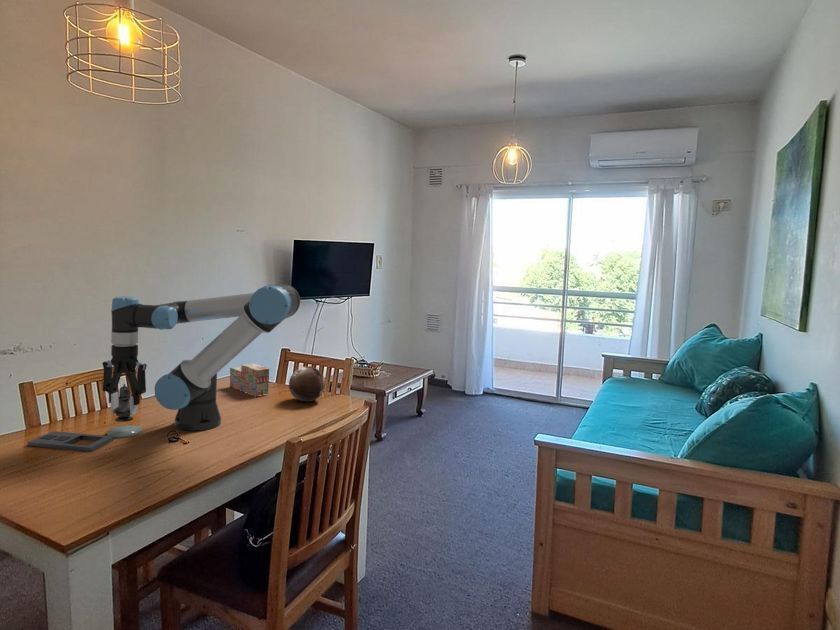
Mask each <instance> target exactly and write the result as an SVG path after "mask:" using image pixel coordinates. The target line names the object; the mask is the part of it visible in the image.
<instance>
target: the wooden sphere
mask: <svg viewBox="0 0 840 630" xmlns="http://www.w3.org/2000/svg"><path fill="white" fill-rule="evenodd" d="M325 387H326V380H325V377H324V375H323V373H322V372H321V371H320V370H319V369H317V368H315V367H314V366H301V367H299V368H298V369H296V370H295V371H294V372H293V373H292V374H291V375H290V378H289V382H288V388H289V392H290V393H291V395H292V396H293V397H294V399H296V400H297V401H300V400H301V401H300V402H303V401H310V402H312V401H311V400H314V401H315V399H316V400H317V399H319V398H320V397H321V396H322V394H323V393H324V391H325Z"/></svg>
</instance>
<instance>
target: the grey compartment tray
mask: <svg viewBox="0 0 840 630" xmlns="http://www.w3.org/2000/svg"><path fill="white" fill-rule="evenodd" d="M79 440H89V441H90V440H91V441H94V442H92V443H90V444H88V445H84V444H73V443H76V442H77V441H79ZM113 441H114V438H113V437H112V436H107V435H100V434H86V433H78V432H67V431H56V430H55V431H54V430H52V431H51V432H48V433H46V434H43V435H41V436H39V437H36V438H34V439H32V440H29V441H27V447H34V446H36V447H37V448H45V449H55V450H56V449H58V450H69V451H78V452H91V453H92V452H94V451H96V450H97V449H100V448H101V447H103V446H105V445H107V444H109V443H111V442H113ZM36 447H35V448H36Z"/></svg>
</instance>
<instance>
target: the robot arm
mask: <svg viewBox="0 0 840 630" xmlns="http://www.w3.org/2000/svg"><path fill="white" fill-rule="evenodd" d="M300 304H301V297H300V294H299V292H298V291H297V290H296V289H295V287H293V286H291V285H290V284H286V283H277V284H266V285H264V286H262V287H260V288H258V289H257V290H255V292H249V293H242V294H233V295H226V296H217V297H207V298H198V299H191V300H190V299H189V300H184V301H183V300H181V301H173V302H169V303H167V302H166V303H159V304H142V303H140V301H139V298H138V297H135V296H115V297H114V298H112V302H111V332H110V333H111V339H110V340H111V341H110V342H111V344H112V345H111V347H110V348H111V352H110V355H111V359H110V360H109V359H108V360H105V361H103V362H102V367H103V379H102V391H103V392H107V394H108V403H109V404H110V414H111V415H114V414H115V411H114V409H115V408H117V407H118V406H119V399H118V397H119V389H118V387H119V384H120V380H121V377H122V374H125V376H126V377H127V378H128V382H129V386H130V387H129V388H130V390H131V393H132V394H131V395H129V396H130V416H131V417H132V416H135V415H137V414H138V405H139V404H140V403H141V401H140V400H141V395H143V394H145V393H147V384H146V369H147V363H143V362H140V361H139V359H138V355H139V345H138V343H139V328H142V329H143V328H145V329H156V330H157V329H158V330H162V331H163V330H173V329H174V328H175V326H176V325H178V324H187V323H193V322H202V321H211V320H219V319H229V318H236V319H234V321H232V322H231V324H229V325H228V326H227V327H226V328H225V329H224V330H223V331H222V332H220V333H219V334H218V335H217V336H216V337H215V338H214V339H212V341H210V343H208V344H207V345H206V346H205V347H204V348H203V349H201V351H200V352H199V353H197V354H196V355H195V356H194V357H192V359H183V360H182V361H181V362H180V363H179V364H178V365H177V366H176V367H174V368H173V369H172V370H171V371H170V372H169V373H168V374H164V375H162V376H161V377H160V378H159V379H158V380H156V383H155V385H154V397H155V399H156V401H157V402H158V404H160V405H161V406H162V407H164V408H166V410H167V409H168V410H172V411H177V412H176V415H175V418H174V428H176V429H178V430H183V431H191V432H193V431H196V432H197V431H205V430H210V429H214V428H216V427H218V426H220V425H221V423H222V416H221V413H220V410H219V406H218V404H217V383H218V381H217V380H218V373H219V372H220V371H222V369H224V368H225V366H227V365H228V364H229V363H230V362H231V361H232V360H233V359H235V357H237V356H238V355H239V354H240V353H241V352H243V350H245V349H246V348H247V347H248V346H249V345H251V343H252V342H254V341H255V340H256V339H257V338H258V337H259V336H261V334H262V333H263V334H264V333H267V334H268V333H271V332H272V331H273V330H274V329H276V327H277V326H279V325H280V324H281V323H283V321H285V320H286V319H289V318H290V317H292V316H294V315H295V314H296V313H297V312H298V310H299V308H300ZM113 368H114V369H113Z"/></svg>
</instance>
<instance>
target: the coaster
mask: <svg viewBox="0 0 840 630" xmlns="http://www.w3.org/2000/svg"><path fill="white" fill-rule="evenodd" d="M142 432H143V431H142V427H141V426H138V425H133V424H132V425H120V426H119V425H118V426H115V427H112V428H109V429H108V430H107V431H106V436H112V437H113V439H124V438H132V437H135V436H137V435H140V434H141V433H142Z"/></svg>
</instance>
